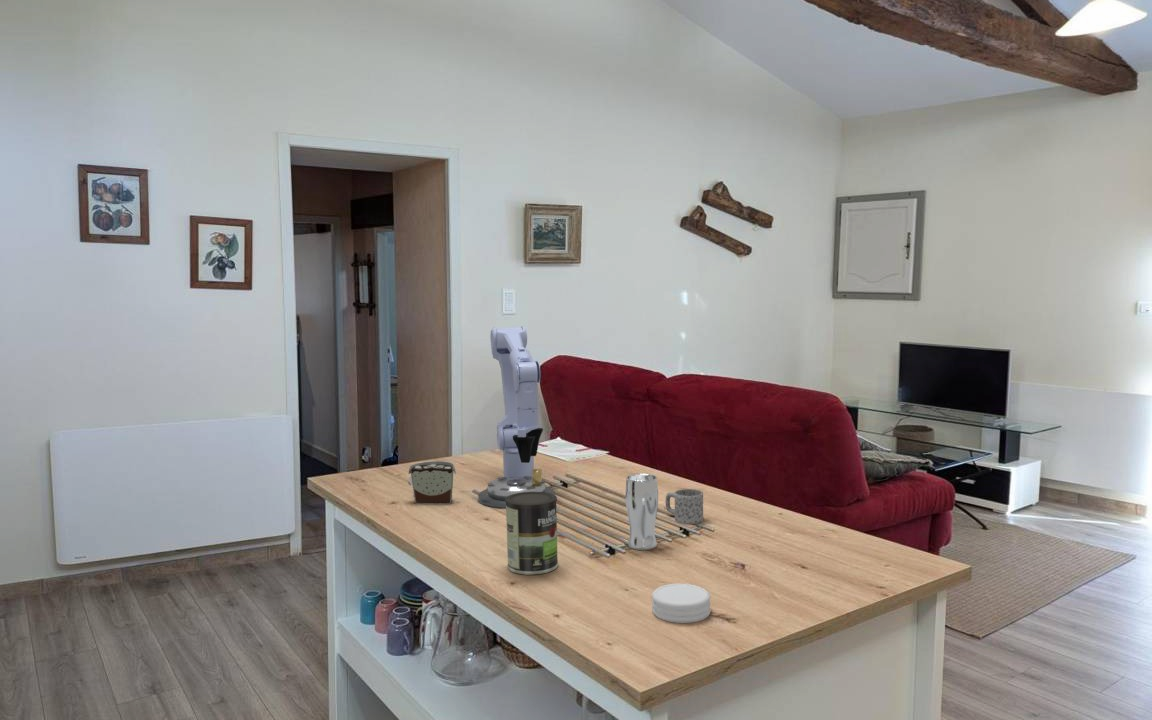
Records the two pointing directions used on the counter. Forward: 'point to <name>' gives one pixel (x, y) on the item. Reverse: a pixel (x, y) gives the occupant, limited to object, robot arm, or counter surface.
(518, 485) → the lugged hub disc
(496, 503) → the dark grey flat disc
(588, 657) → the counter surface
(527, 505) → the coffee can
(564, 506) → the counter surface
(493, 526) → the counter surface
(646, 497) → the beer glass
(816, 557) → the counter surface
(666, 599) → the white round lid
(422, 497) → the food container
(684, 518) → the mug
